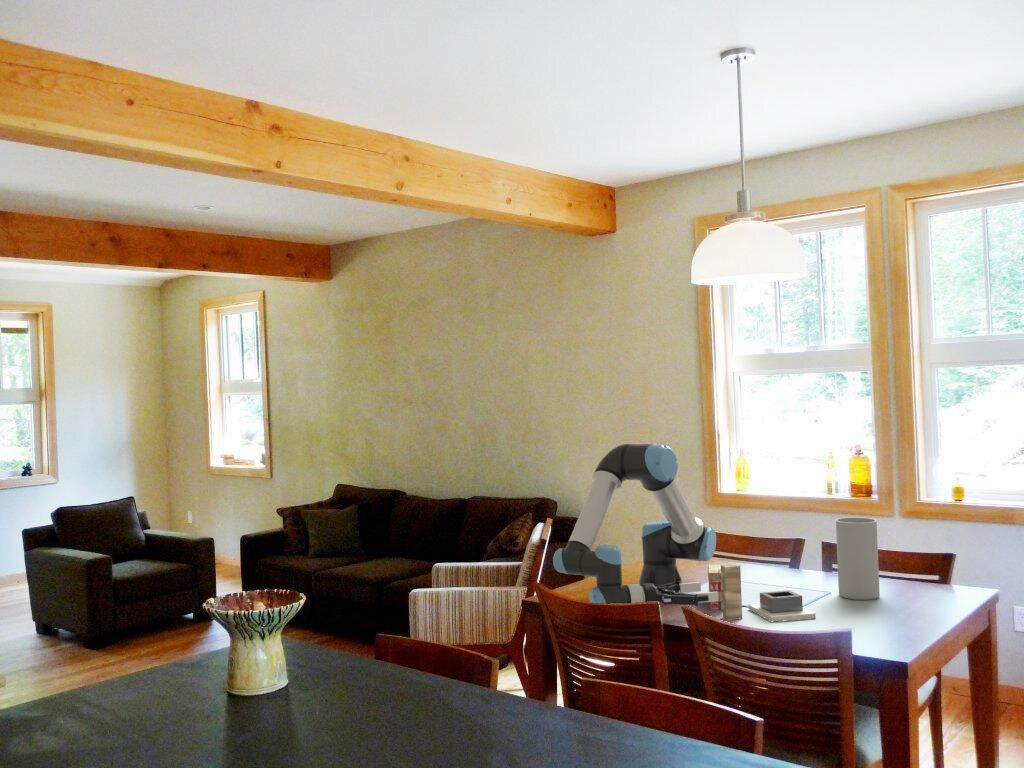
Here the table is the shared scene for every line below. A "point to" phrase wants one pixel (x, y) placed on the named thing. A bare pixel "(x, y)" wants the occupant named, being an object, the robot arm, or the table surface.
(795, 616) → the base board
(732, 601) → the ash slat
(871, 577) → the cylinder vase
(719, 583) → the stack of blocks
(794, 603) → the grey rectangular socket
